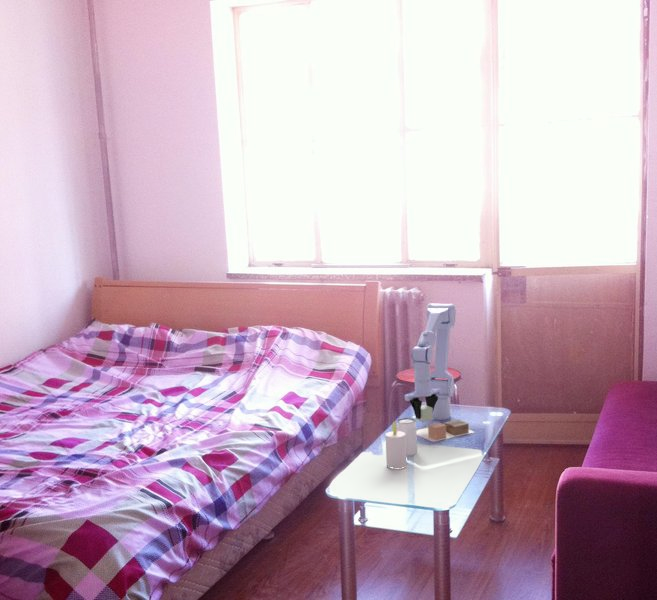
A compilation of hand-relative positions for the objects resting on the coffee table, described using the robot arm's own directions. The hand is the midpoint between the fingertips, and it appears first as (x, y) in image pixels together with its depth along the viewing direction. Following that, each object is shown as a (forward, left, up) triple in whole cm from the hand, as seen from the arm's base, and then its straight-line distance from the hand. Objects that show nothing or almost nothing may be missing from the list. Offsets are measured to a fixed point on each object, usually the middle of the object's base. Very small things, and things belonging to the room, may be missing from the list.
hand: (424, 416), depth 274 cm
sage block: (0, 0, -1) cm, 1 cm away
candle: (+21, -25, -7) cm, 33 cm away
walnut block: (+7, +9, -5) cm, 13 cm away
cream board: (+4, +5, -6) cm, 9 cm away
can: (+15, -17, -7) cm, 24 cm away
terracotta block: (+8, 0, -5) cm, 10 cm away
